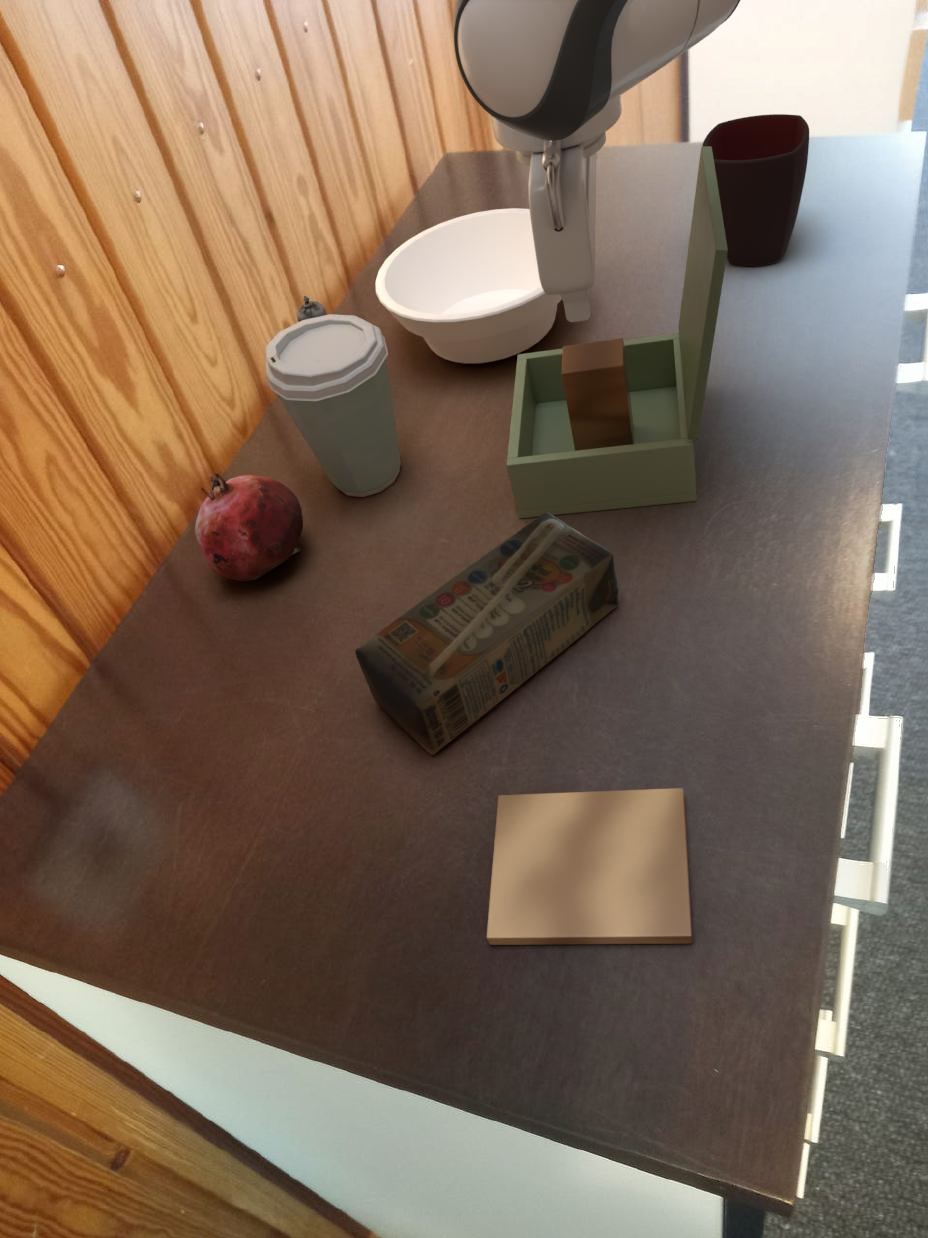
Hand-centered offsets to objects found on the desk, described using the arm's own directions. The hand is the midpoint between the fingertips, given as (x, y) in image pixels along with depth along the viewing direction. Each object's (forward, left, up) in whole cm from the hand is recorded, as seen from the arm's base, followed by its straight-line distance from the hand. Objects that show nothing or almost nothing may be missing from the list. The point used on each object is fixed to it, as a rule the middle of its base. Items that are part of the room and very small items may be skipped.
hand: (580, 282), depth 79 cm
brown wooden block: (0, 0, -16) cm, 16 cm away
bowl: (+12, -22, -17) cm, 30 cm away
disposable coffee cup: (+22, 0, -17) cm, 28 cm away
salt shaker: (+27, -13, -17) cm, 34 cm away
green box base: (0, 0, -17) cm, 17 cm away
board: (+1, +41, -17) cm, 44 cm away
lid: (-8, 0, -2) cm, 9 cm away
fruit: (+30, +10, -17) cm, 36 cm away
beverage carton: (+8, +23, -17) cm, 29 cm away
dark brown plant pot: (-16, -32, -17) cm, 40 cm away
